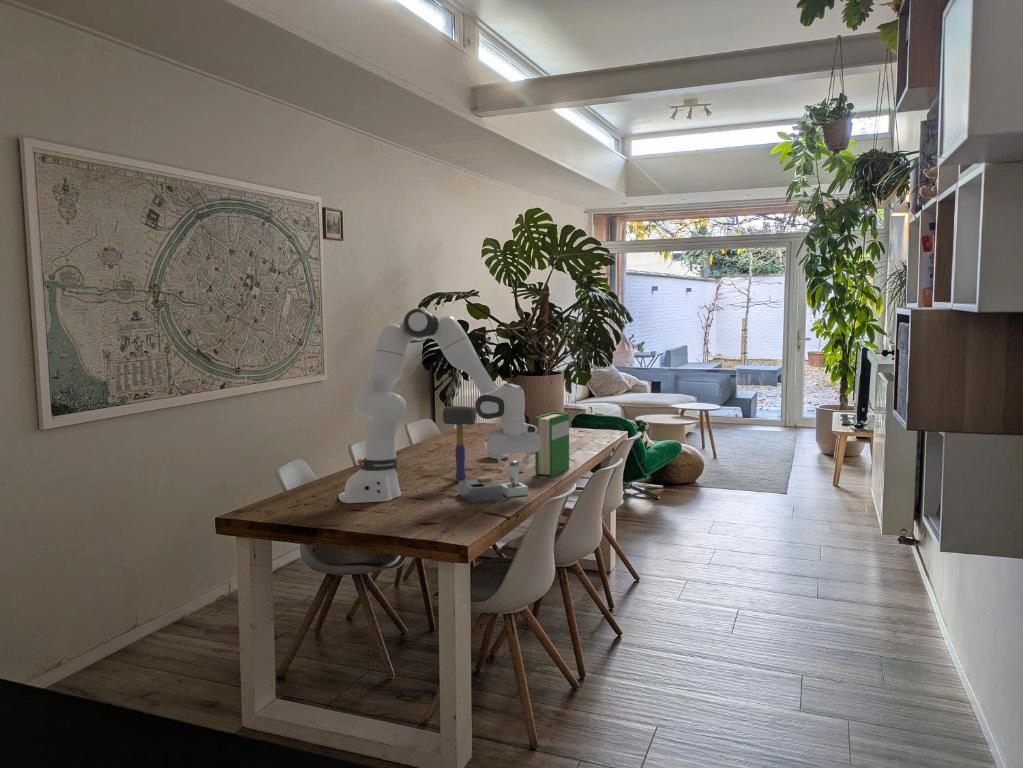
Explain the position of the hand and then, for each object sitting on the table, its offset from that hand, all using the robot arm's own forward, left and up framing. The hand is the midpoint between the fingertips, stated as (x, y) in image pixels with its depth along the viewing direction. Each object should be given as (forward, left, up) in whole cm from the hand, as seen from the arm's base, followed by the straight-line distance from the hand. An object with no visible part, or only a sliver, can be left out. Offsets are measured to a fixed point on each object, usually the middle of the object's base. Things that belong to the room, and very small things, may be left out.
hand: (513, 465), depth 284 cm
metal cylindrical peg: (0, 0, -11) cm, 11 cm away
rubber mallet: (-12, +28, -11) cm, 32 cm away
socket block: (-13, 0, -11) cm, 17 cm away
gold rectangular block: (-10, +4, -11) cm, 15 cm away
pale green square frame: (0, 0, -11) cm, 11 cm away
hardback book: (+28, +28, -11) cm, 41 cm away
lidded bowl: (+18, +67, -11) cm, 70 cm away
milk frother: (+43, +113, -11) cm, 122 cm away
